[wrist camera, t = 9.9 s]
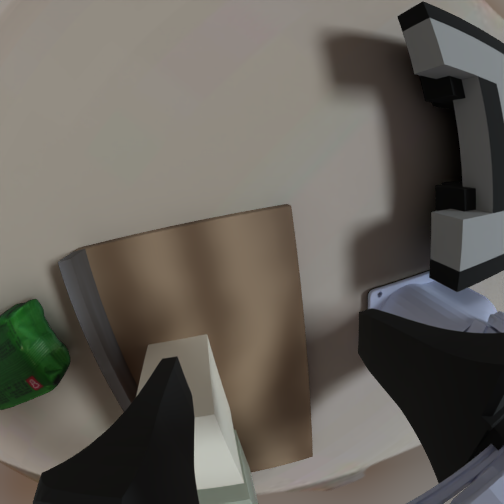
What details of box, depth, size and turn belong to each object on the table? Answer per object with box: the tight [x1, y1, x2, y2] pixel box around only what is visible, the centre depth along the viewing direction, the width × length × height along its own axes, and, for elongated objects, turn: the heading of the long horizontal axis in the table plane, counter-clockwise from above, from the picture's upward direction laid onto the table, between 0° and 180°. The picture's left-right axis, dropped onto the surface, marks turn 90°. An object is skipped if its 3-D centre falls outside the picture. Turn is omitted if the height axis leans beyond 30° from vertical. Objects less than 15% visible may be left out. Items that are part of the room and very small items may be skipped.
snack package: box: [0, 299, 70, 410], centre depth 16 cm, size 7×16×5 cm, turn 115°
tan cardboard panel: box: [58, 204, 313, 472], centre depth 21 cm, size 15×28×4 cm, turn 9°
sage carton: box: [197, 430, 258, 504], centre depth 20 cm, size 5×8×8 cm, turn 9°
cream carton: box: [136, 334, 244, 490], centre depth 17 cm, size 5×8×8 cm, turn 10°
